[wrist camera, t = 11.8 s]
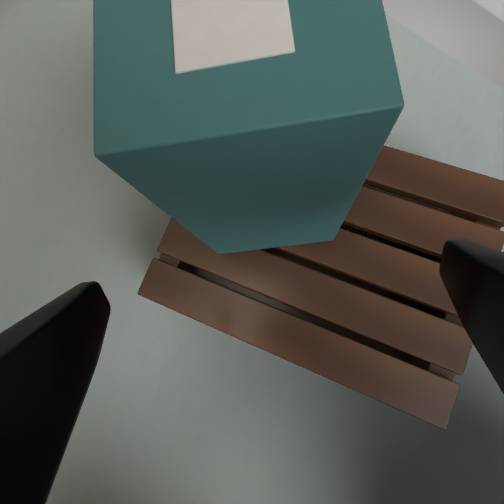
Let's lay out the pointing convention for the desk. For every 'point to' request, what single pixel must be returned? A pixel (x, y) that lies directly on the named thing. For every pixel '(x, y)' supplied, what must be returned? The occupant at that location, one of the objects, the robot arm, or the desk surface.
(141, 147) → the tissue box
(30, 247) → the desk surface
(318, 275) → the wooden pallet
